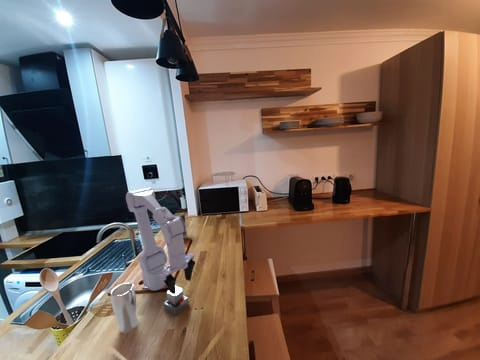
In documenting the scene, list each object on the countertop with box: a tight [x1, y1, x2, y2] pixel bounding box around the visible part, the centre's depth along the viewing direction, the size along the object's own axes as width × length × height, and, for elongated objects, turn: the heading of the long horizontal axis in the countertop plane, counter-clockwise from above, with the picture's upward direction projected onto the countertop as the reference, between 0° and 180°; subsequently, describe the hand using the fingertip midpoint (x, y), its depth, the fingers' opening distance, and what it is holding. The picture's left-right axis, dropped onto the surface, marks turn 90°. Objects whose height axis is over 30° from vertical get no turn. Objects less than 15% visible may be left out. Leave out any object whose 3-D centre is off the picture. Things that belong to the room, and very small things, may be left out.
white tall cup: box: [110, 282, 139, 334], centre depth 68 cm, size 7×7×15 cm
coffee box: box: [173, 213, 188, 239], centre depth 134 cm, size 9×6×16 cm
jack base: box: [163, 294, 190, 317], centre depth 75 cm, size 18×14×5 cm
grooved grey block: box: [166, 285, 185, 307], centre depth 74 cm, size 5×4×7 cm
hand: (180, 286), depth 74 cm, fingers open, 7 cm apart
